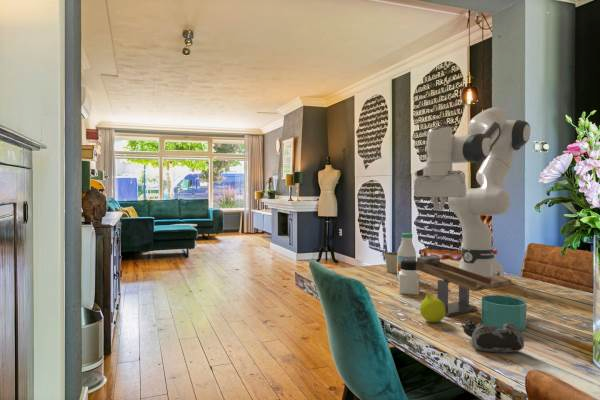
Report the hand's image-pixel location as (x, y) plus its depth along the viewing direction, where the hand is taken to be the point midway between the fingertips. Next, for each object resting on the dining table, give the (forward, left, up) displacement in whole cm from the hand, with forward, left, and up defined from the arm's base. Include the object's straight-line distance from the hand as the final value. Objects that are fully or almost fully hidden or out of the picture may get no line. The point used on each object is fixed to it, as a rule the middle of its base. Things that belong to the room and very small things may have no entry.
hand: (438, 210), depth 146 cm
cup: (+10, +30, -31) cm, 45 cm away
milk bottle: (-10, -24, -31) cm, 41 cm away
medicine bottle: (+4, -10, -31) cm, 33 cm away
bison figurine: (+28, +38, -32) cm, 57 cm away
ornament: (+25, +18, -31) cm, 44 cm away
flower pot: (-19, -40, -31) cm, 54 cm away
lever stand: (+10, +14, -31) cm, 35 cm away
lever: (+4, +13, -22) cm, 26 cm away
